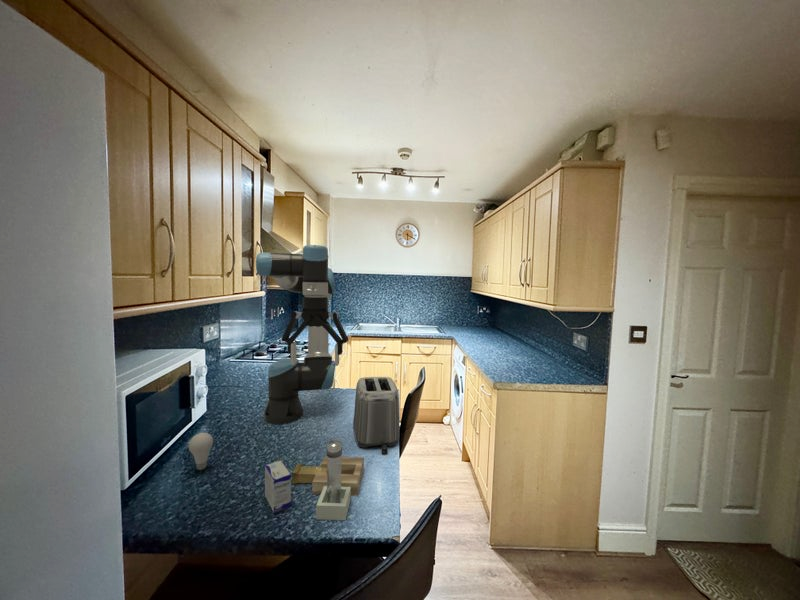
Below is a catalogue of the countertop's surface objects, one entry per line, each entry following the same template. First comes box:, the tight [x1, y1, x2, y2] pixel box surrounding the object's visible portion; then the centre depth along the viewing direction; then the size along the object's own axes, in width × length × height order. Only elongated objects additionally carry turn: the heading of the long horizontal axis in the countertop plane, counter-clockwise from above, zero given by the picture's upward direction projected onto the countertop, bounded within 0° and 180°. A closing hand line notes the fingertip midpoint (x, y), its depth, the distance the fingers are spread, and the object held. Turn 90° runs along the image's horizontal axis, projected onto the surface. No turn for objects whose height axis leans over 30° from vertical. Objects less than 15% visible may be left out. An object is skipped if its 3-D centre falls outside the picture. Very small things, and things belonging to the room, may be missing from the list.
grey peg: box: [326, 439, 343, 503], centre depth 78 cm, size 4×4×16 cm
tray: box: [315, 486, 352, 521], centre depth 78 cm, size 7×7×4 cm
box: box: [264, 460, 292, 514], centre depth 80 cm, size 8×4×9 cm, turn 38°
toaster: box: [352, 376, 400, 455], centre depth 116 cm, size 17×30×19 cm, turn 8°
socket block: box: [311, 455, 365, 497], centre depth 89 cm, size 12×12×4 cm
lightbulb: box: [188, 432, 214, 471], centre depth 93 cm, size 6×6×11 cm
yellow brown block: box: [291, 462, 327, 485], centre depth 89 cm, size 5×9×3 cm, turn 89°
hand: (315, 364), depth 97 cm, fingers open, 13 cm apart
